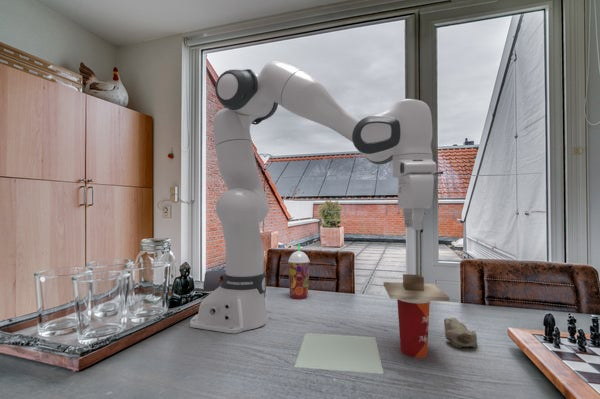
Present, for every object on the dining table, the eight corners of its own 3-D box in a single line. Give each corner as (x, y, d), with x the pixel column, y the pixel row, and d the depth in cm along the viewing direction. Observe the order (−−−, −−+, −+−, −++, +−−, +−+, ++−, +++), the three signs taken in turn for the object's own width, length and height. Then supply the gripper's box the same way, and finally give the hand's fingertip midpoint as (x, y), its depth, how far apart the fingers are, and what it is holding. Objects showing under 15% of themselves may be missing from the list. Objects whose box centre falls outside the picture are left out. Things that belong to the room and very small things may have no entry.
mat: (294, 369, 65) (294, 367, 65) (305, 334, 82) (305, 332, 83) (383, 376, 62) (383, 373, 62) (375, 339, 80) (375, 337, 80)
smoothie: (297, 292, 124) (297, 242, 125) (314, 296, 119) (314, 243, 119) (283, 297, 118) (283, 244, 118) (300, 301, 112) (300, 245, 113)
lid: (390, 298, 67) (390, 280, 67) (383, 285, 79) (383, 270, 79) (449, 301, 65) (449, 282, 66) (433, 287, 77) (433, 271, 77)
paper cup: (435, 363, 67) (434, 298, 68) (398, 360, 69) (397, 296, 69) (428, 347, 75) (427, 289, 75) (394, 345, 76) (394, 287, 77)
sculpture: (435, 331, 88) (450, 350, 73) (435, 313, 88) (450, 329, 74) (462, 334, 86) (483, 354, 72) (462, 316, 87) (483, 333, 72)
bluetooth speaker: (266, 292, 125) (266, 267, 125) (265, 299, 116) (265, 271, 116) (208, 293, 124) (208, 267, 124) (202, 300, 114) (203, 272, 115)
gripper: (391, 174, 84) (392, 226, 83) (406, 163, 64) (406, 231, 63) (416, 174, 83) (416, 226, 83) (439, 162, 63) (439, 231, 62)
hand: (412, 228), depth 73 cm, fingers open, 8 cm apart
